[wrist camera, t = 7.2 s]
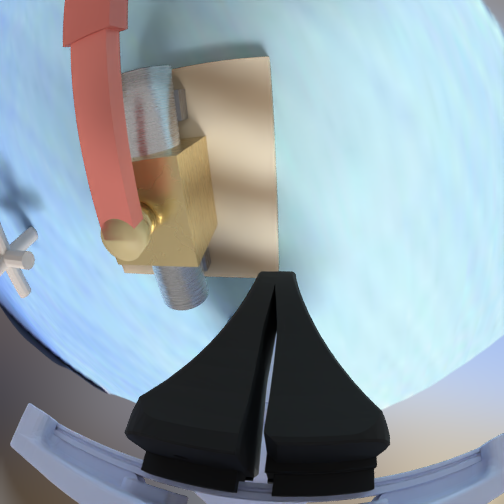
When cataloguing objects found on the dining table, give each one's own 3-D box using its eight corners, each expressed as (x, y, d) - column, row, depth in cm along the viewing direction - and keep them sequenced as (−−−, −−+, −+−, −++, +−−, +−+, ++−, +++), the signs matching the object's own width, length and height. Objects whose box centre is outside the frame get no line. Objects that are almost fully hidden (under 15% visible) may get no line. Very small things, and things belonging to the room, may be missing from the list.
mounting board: (278, 268, 22) (278, 278, 21) (130, 265, 24) (124, 272, 23) (269, 58, 14) (268, 56, 13) (87, 97, 16) (77, 99, 15)
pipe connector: (2, 199, 22) (-52, 243, 14) (43, 191, 21) (-26, 245, 13) (28, 264, 28) (-14, 313, 19) (72, 270, 26) (24, 332, 18)
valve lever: (157, 248, 14) (147, 265, 12) (117, 247, 14) (105, 262, 13) (130, -43, 5) (115, -52, 4) (85, -23, 5) (68, -27, 4)
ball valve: (227, 272, 23) (208, 334, 17) (166, 270, 23) (135, 325, 18) (201, 64, 14) (154, 56, 8) (125, 82, 14) (60, 92, 9)
